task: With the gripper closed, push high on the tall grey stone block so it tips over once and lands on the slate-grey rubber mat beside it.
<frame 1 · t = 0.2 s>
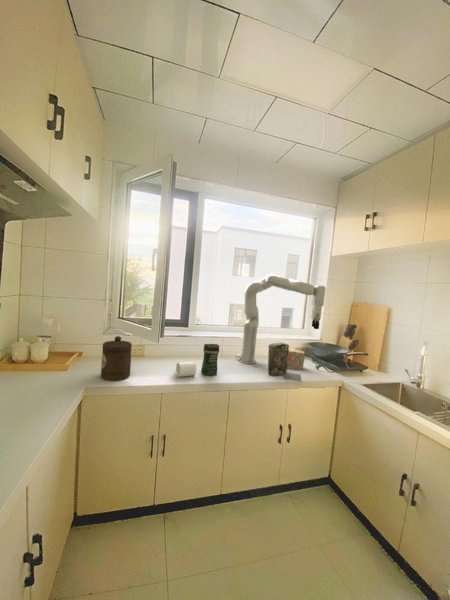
hand: (315, 327, 178), 31 cm above the countertop, tool pointing down, fingers open, 9 cm apart
wooden container: (115, 376, 141), on the countertop
mug: (184, 374, 153), on the countertop
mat: (292, 376, 166), on the countertop
stone block: (277, 374, 168), on the countertop, touching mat
coffee jar: (209, 373, 158), on the countertop
stack of blocks: (287, 366, 187), on the countertop
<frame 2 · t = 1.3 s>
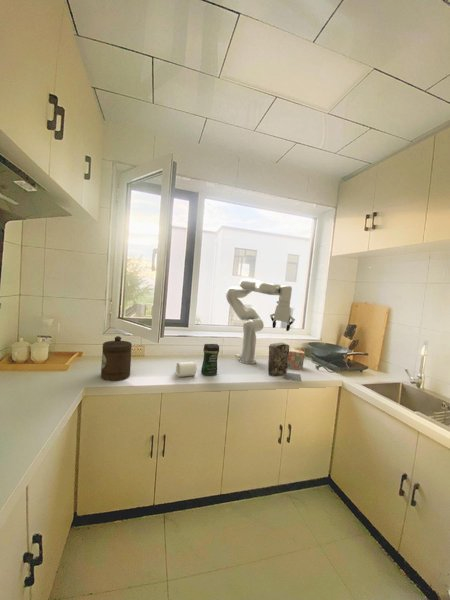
hand: (280, 329, 172), 29 cm above the countertop, tool pointing down, fingers open, 9 cm apart
nothing on the countertop moved.
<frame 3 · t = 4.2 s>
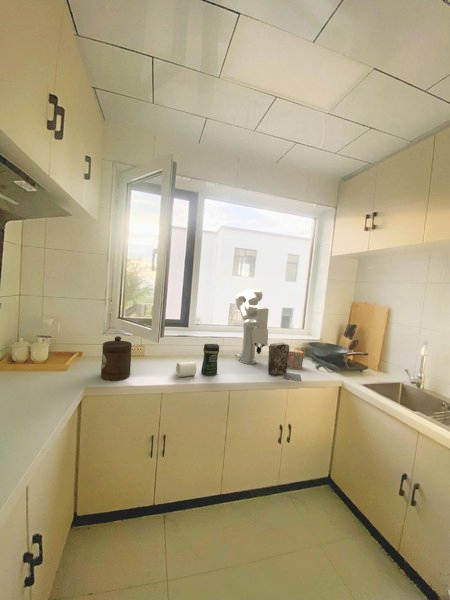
hand: (258, 353, 170), 12 cm above the countertop, tool pointing down, fingers closed
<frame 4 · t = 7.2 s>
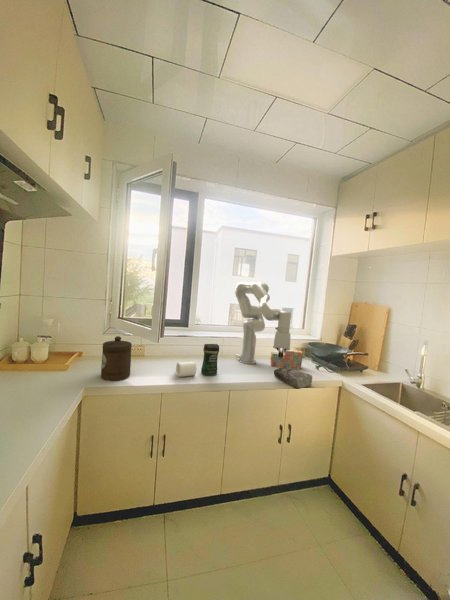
hand: (280, 357, 167), 11 cm above the countertop, tool pointing down, fingers closed
stone block: (280, 371, 165), point 3 cm above the countertop, touching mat
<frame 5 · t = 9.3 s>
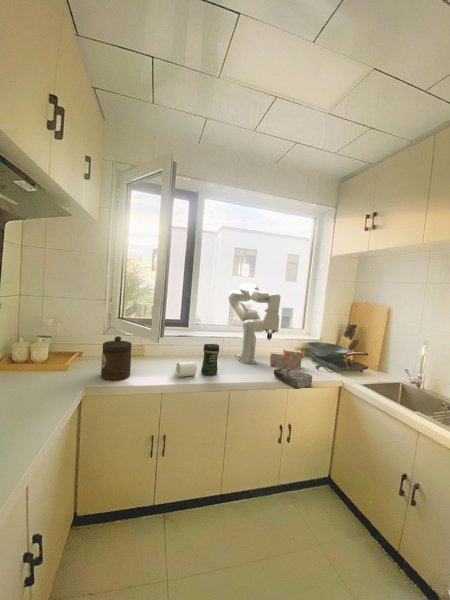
hand: (269, 339, 171), 22 cm above the countertop, tool pointing down, fingers closed
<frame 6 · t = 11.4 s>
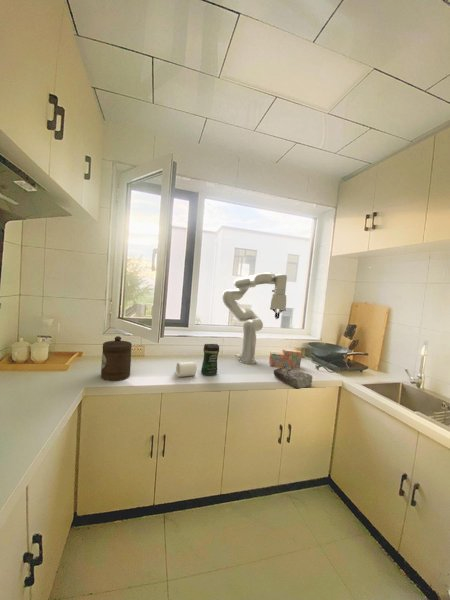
hand: (276, 318, 176), 35 cm above the countertop, tool pointing down, fingers closed
at the end: stone block tilted 90°; stone block touching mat, countertop; the gripper is holding nothing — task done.
